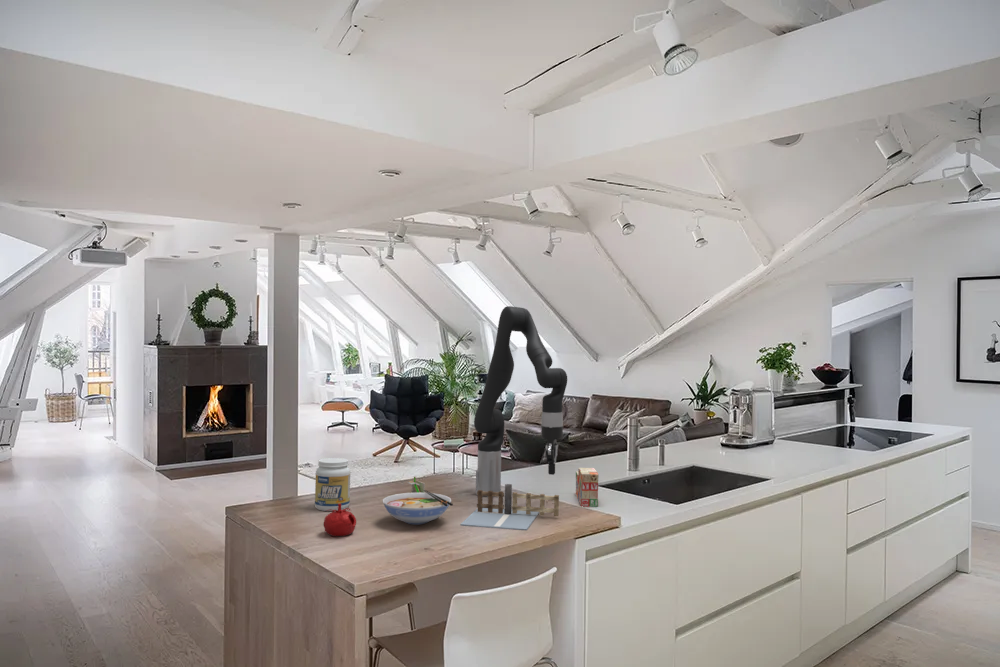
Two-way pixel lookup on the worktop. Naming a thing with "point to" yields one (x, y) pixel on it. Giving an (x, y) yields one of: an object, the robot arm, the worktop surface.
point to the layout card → (500, 519)
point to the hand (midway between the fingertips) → (551, 474)
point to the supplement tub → (332, 484)
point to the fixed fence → (500, 501)
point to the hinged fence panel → (535, 509)
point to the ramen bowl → (416, 506)
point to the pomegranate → (340, 522)
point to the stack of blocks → (587, 487)
